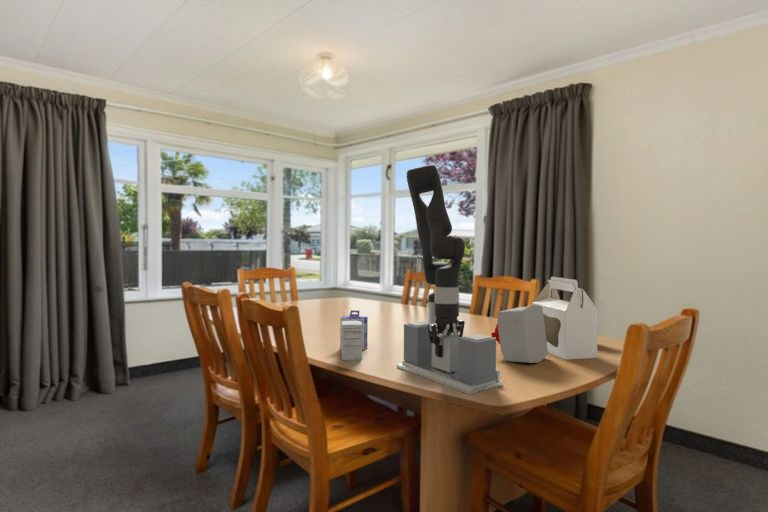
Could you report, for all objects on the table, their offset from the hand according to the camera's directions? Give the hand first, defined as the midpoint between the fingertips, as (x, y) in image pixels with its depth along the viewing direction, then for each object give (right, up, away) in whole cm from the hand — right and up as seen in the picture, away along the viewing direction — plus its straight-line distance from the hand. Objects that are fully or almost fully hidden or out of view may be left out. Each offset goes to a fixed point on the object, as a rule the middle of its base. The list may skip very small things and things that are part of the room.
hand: (446, 355), depth 136 cm
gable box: (+49, -6, +31) cm, 58 cm away
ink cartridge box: (-31, -5, +35) cm, 47 cm away
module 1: (-7, -4, +10) cm, 13 cm away
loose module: (0, -4, 0) cm, 4 cm away
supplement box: (-31, -6, +21) cm, 38 cm away
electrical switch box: (+29, -6, +21) cm, 36 cm away
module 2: (+7, -5, -10) cm, 13 cm away
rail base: (0, -6, 0) cm, 6 cm away
